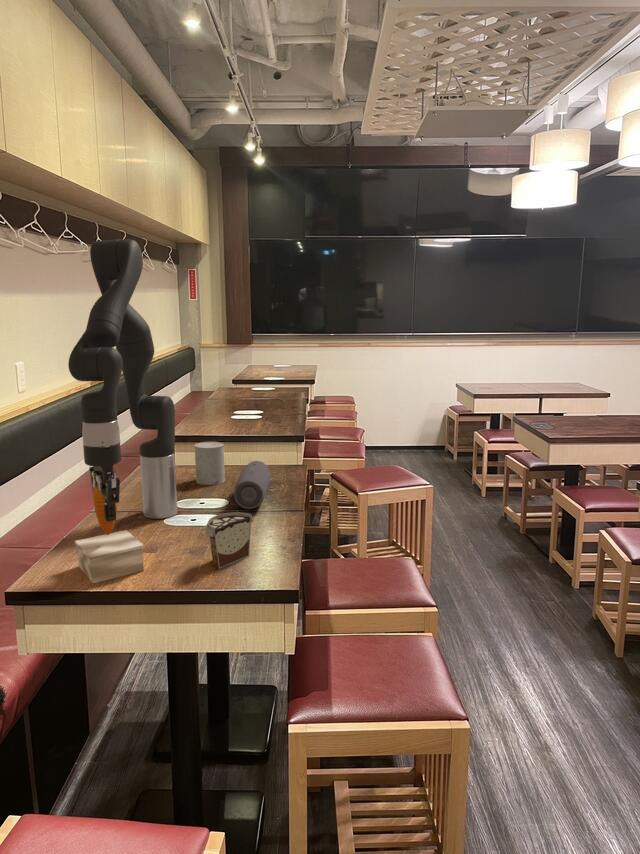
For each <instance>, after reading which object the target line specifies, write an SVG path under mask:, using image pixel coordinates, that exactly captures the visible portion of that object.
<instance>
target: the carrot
mask: <svg viewBox="0 0 640 854" xmlns="http://www.w3.org/2000/svg"><path fill="white" fill-rule="evenodd" d="M96 474H97V473H93V476H94V477H95V478H96ZM103 490H106V489H103ZM92 497H93V505H94V511H95V515H96V518H97V521H98V523H99V525H100V527H101V529H102V530H103V532H104V534H107V535H109V534H110V533H112V531H113V529H114V527H115V523H116V520H117V519H116V520H114V521H109V522H107V521H106V520H105V511H104V503H103V502H104V501H103V496H102V495H101V494H100V492H99V486H97V487H95V488H94V489H93V491H92ZM110 498H112V495H111V496H110ZM115 506H116V516H117V515H118V513H117V512H118V503H116V504H115Z"/></svg>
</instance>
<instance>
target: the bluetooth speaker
mask: <svg viewBox="0 0 640 854" xmlns="http://www.w3.org/2000/svg"><path fill="white" fill-rule="evenodd" d="M270 480H271V472H270V468H269V467H268V465H267V464H266V463H265V462H263V461H260V460H253V461H251V462H249V463H248V464H246V465H245V466H244V468H243V469H242V470H241V473H240V474H239V476H238V478H237V481H236V483H235V486H234V489H233V490H234V491H233V498H234V501H235V502H236V505H238V506H239V507H241V508H242V509H246V510H247V509H248V510H251V509H255V508H257V507H259V506H260V505H261V503H262V502H263V501H264V499H265V497H266V495H267V494H268V490H269V487H270Z"/></svg>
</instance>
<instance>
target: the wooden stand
mask: <svg viewBox="0 0 640 854" xmlns="http://www.w3.org/2000/svg"><path fill="white" fill-rule="evenodd" d="M74 544H75V545H76V551H77V561H78V563H77V564H78V567H79V569H80V570H81V571H82V572H83V574H85V576H86V577H87V578H88V580H89V581H91V583H92V584H96V583H100V582H105V581H108V580H112V579H116V578H117V579H118V578H120V577H121V578H122V577H124V576H128V575H133V574H136V573H140V572H144V571H145V569H144V567H145V566H144V556H143V555H144V554H143V552H144V551H143V549H145V545H144V543H142V541H140V540H138V539H137V538H136V537H135V536H134V535H133V534H132V533H130V532H129V531H128V530H127V529H125V530H119V531H115V532H111V533H110V534H109V535H107V534H106V533H104V534H102V535H101V534H100V535H97V536H96V535H95V536H91V537H87V538H82V539H78V540H77V539H76V540H74Z"/></svg>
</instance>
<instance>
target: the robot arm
mask: <svg viewBox="0 0 640 854" xmlns="http://www.w3.org/2000/svg"><path fill="white" fill-rule="evenodd" d="M89 254H90V255H89V256H90V263H91V268H92V270H93V274H94V277H95V279H96V282H97V283H96V284H97V285H98V289H99V292H100V294H101V296H100V297H99V298H98V299H97V300H96V301H95V302H94V304H93V305H92V308H91V309H90V312H89V316H88V320H87V325H86V328H85V331H84V332H83V333H82V335H81V337H80V338H79V340H78V341H77V343H76V344H75V345H74V347H73V348H72V350H71V352H70V355H69V357H68V372H69V373H70V376H71V377H72V378H74V379H75V380H76V381H79V382H103V386H102V388H101V389H99V390H96V391H92V392H89V393H88V392H87V393H86V394H83V395H82V396H81V400H80V403H81V417H82V419H81V420H82V429H81V430H82V431H81V434H82V447H83V459H84V460H83V461H84V464H85V465H86V466H89V468H88V471H89V475H90V483H91V488H92V492H93V489H94V488H95V487H97V486H99V492H100V494H101V495H102V496H103V501H104V502H103V503H104V511H105V520H106V521H107V522H109V521H114V520H117V515H116V506H115V504H116V503H117V504H119V503H120V486H121V484H120V482H121V480H120V477H117V473H116V471H115V470H114V465H117V464H119V463H120V462H121V461H122V451H121V436H120V435H121V433H120V427H119V422H118V409H117V398H118V397H117V396H118V390H119V389H118V388H119V385H120V384H119V383H120V379H121V375H123V379H124V384H125V389H126V395H127V397H126V398H127V401H128V407H129V414H130V417H131V422H132V424H133V425H134V427H135V428H137V429H140V430H149V431H154V430H155V431H157V433H156V435H157V436H156V437H155V438H153V439H150V440H147V441H145V442H142V443H141V444H140V445H139V462H140V474H141V475H140V477H141V479H140V480H141V492H142V493H141V494H142V511H143V512H142V513H143V516H144V517H145V518H149V519H156V520H157V519H167V518H170V517H173V516H175V515H177V513H178V499H177V498H178V496H177V493H178V492H177V479H176V478H177V477H176V474H177V473H176V460H175V457H176V456H175V442H176V427H175V426H176V424H175V422H176V409H175V403H174V401H173V400H172V398H171V397H170V396H167V395H147V394H146V391H145V386H144V380H145V378H146V374H147V373H148V370H149V367H150V365H151V363H153V362H152V361H153V359H154V355H155V346H154V341H153V336H152V331H151V328H150V325H149V324H148V323H147V321H146V320H145V319H144V316H143V317H142V315H141V313H139V312H138V311H137V310H136V309H135V308H134V307H133V306H132V304H130V302H131V300H132V299H131V298H132V297H133V294H134V292H135V290H136V288H137V285H138V282H139V281H140V278H141V275H142V272H143V265H144V261H143V260H144V259H143V253H142V250H141V246H140V245H139V243H138V242H137V241H136V240H134V239H130V238H119V239H104V240H97V241H96V240H95V241H94V242H93V243H92V244H91V246H90V249H89ZM93 473H97V474H96V478H95V477H94V476H93ZM103 489H106V490H103ZM111 495H112V498H110V496H111Z"/></svg>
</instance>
